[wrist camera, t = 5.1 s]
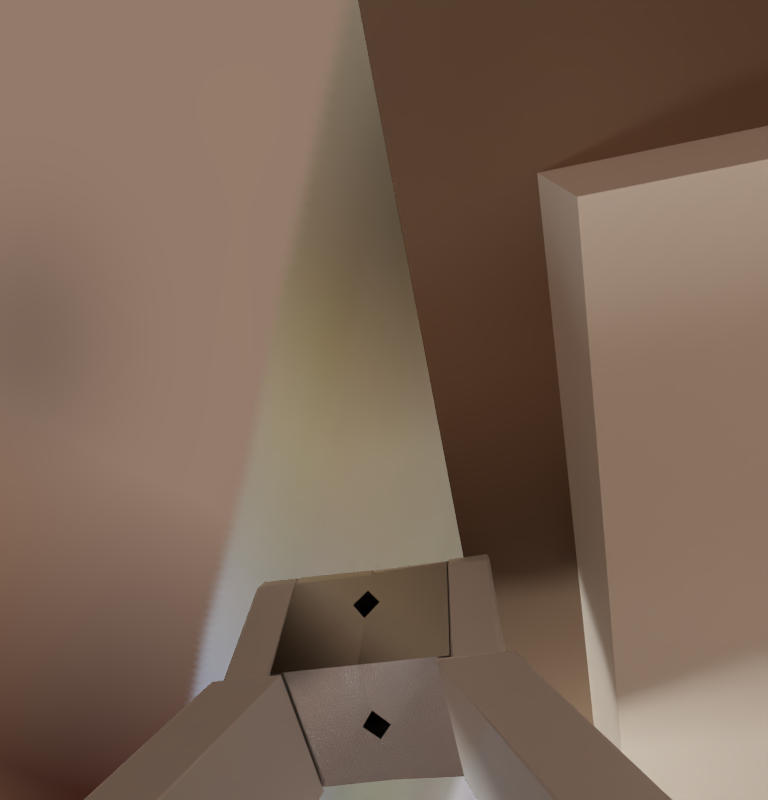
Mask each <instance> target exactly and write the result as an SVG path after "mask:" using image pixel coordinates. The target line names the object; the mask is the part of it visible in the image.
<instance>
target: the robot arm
mask: <svg viewBox="0 0 768 800" xmlns="http://www.w3.org/2000/svg"><path fill="white" fill-rule="evenodd" d="M456 776H464V777H465V781H466V782H467V784H468V785H469V787H470V788H471V790H472V791H473V793H474V794H475V796H476V797H477V799H478V800H672V799H671V798H670V797H669V796H668V795H667V794H666V793H665V792H663V791H662V790H661V789H660V788H659V787H658V786H657V785H656V784H655V783H654V782H653V781H652V780H651V779H650V778H649V777H648V776H647V775H645V774H644V773H643V772H642V771H641V770H640V769H639V768H638V767H637V766H636V765H635V764H634V763H633V762H632V761H631V760H630V759H629V758H627V757H626V756H625V755H624V754H623V753H622V752H621V751H620V750H619V749H618V748H617V747H616V746H615V745H614V744H613V743H612V742H611V741H609V740H608V739H607V738H606V737H605V736H604V735H603V734H602V733H601V732H600V731H599V730H598V729H597V728H596V727H595V726H594V725H593V724H591V723H590V722H589V721H588V720H587V719H586V718H585V717H584V716H583V715H582V714H581V713H580V712H579V711H578V710H577V709H576V708H575V707H573V706H572V705H571V704H570V703H569V702H568V701H567V700H566V699H565V698H564V697H563V696H562V695H561V694H560V693H559V692H558V691H557V690H555V689H554V688H553V687H552V686H551V685H550V684H549V683H548V682H547V681H546V680H545V679H544V678H543V677H542V676H541V675H540V674H539V673H537V672H536V671H535V670H534V669H533V668H532V667H531V666H530V665H529V664H528V663H527V662H526V661H525V660H524V659H523V658H522V657H521V656H519V655H518V654H517V653H516V652H515V651H506V650H505V645H504V639H503V633H502V627H501V622H500V616H499V610H498V604H497V599H496V593H495V587H494V581H493V576H492V570H491V564H490V559H489V557H488V555H487V554H483V555H476V556H470V557H463V558H457V559H450V560H449V561H445V562H437V563H430V564H422V565H414V566H407V567H399V568H391V569H384V570H376V571H373V570H372V571H362V572H353V573H343V574H333V575H323V576H314V577H304V578H300V579H289V580H280V581H271V582H264V583H263V584H262V585H261V586H260V587H259V588H258V589H257V591H256V593H255V596H254V599H253V602H252V604H251V607H250V610H249V613H248V615H247V618H246V621H245V624H244V626H243V629H242V632H241V635H240V637H239V640H238V643H237V646H236V648H235V651H234V654H233V657H232V659H231V662H230V665H229V668H228V670H227V673H226V676H225V679H224V681H217V682H212V683H211V684H210V685H209V686H207V687H206V688H205V689H204V690H203V691H202V692H201V693H200V694H199V695H198V696H197V697H195V698H194V699H193V700H192V701H191V702H190V703H189V704H188V705H187V706H186V707H185V708H183V709H182V710H181V711H180V712H179V713H178V714H177V715H176V716H175V717H174V718H173V719H171V720H170V721H169V722H168V723H167V724H166V725H165V726H164V727H163V728H162V729H161V730H160V731H158V732H157V733H156V734H155V735H154V736H153V737H152V738H151V739H150V740H149V741H147V742H146V743H145V744H144V745H143V746H142V747H141V748H140V749H139V750H138V751H137V752H136V753H134V754H133V755H132V756H131V757H130V758H129V759H128V760H127V761H126V762H125V763H124V764H122V765H121V766H120V767H119V768H118V769H117V770H116V771H115V772H114V773H113V774H112V775H111V776H109V777H108V778H107V779H106V780H105V781H104V782H103V783H102V784H101V785H100V786H98V787H97V788H96V789H95V790H94V791H93V792H92V793H91V794H90V795H89V796H88V797H86V798H85V799H84V800H319V798H320V796H321V795H322V793H323V792H324V791H323V788H322V787H327V786H336V785H346V784H355V783H364V782H373V781H383V780H392V779H413V778H434V777H456Z"/></svg>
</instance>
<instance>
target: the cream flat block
mask: <svg viewBox="0 0 768 800" xmlns="http://www.w3.org/2000/svg"><path fill="white" fill-rule="evenodd" d="M537 177H538V186H539V196H540V206H541V216H542V225H543V235H544V245H545V255H546V264H547V274H548V284H549V294H550V303H551V313H552V323H553V333H554V342H555V352H556V362H557V372H558V381H559V391H560V401H561V411H562V420H563V430H564V440H565V449H566V459H567V469H568V479H569V488H570V498H571V508H572V518H573V527H574V537H575V547H576V557H577V566H578V576H579V586H580V596H581V605H582V615H583V625H584V635H585V644H586V654H587V664H588V674H589V683H590V693H591V703H592V712H593V722H594V726H595V727H596V728H597V729H598V730H599V731H600V732H601V733H602V734H603V735H604V736H605V737H606V738H607V739H608V740H609V741H611V742H612V743H613V744H614V745H615V746H616V747H617V748H618V749H619V750H620V751H621V752H622V753H623V754H624V755H625V756H626V757H627V758H629V759H630V760H631V761H632V762H633V763H634V764H635V765H636V766H637V767H638V768H639V769H640V770H641V771H642V772H643V773H644V774H645V775H647V776H648V777H649V778H650V779H651V780H652V781H653V782H654V783H655V784H656V785H657V786H658V787H659V788H660V789H661V790H662V791H663V792H665V793H666V794H667V795H668V796H669V797H670V798H671V799H672V800H768V126H764V127H759V128H754V129H749V130H745V131H740V132H735V133H730V134H725V135H720V136H715V137H710V138H705V139H701V140H696V141H691V142H686V143H681V144H676V145H671V146H666V147H661V148H657V149H652V150H647V151H642V152H637V153H632V154H627V155H622V156H617V157H613V158H608V159H603V160H598V161H593V162H588V163H583V164H578V165H574V166H569V167H564V168H559V169H554V170H549V171H544V172H539V173H537Z"/></svg>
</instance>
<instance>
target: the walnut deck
mask: <svg viewBox="0 0 768 800" xmlns="http://www.w3.org/2000/svg"><path fill="white" fill-rule="evenodd" d="M358 2H359V7H360V12H361V18H362V23H363V28H364V34H365V39H366V44H367V49H368V55H369V60H370V65H371V70H372V76H373V81H374V86H375V92H376V97H377V102H378V107H379V113H380V118H381V123H382V128H383V134H384V139H385V144H386V150H387V155H388V160H389V165H390V171H391V176H392V181H393V187H394V192H395V197H396V202H397V208H398V213H399V218H400V223H401V229H402V234H403V239H404V245H405V250H406V255H407V260H408V266H409V271H410V276H411V281H412V287H413V292H414V297H415V303H416V308H417V313H418V318H419V324H420V329H421V334H422V340H423V345H424V350H425V355H426V361H427V366H428V371H429V376H430V382H431V387H432V392H433V398H434V403H435V408H436V413H437V419H438V424H439V429H440V434H441V440H442V445H443V450H444V456H445V461H446V466H447V471H448V477H449V482H450V487H451V492H452V498H453V503H454V508H455V514H456V519H457V524H458V529H459V535H460V540H461V545H462V551H463V556H464V557H470V556H476V555H483V554H487V555H488V557H489V559H490V564H491V570H492V576H493V581H494V587H495V593H496V599H497V604H498V610H499V616H500V622H501V627H502V633H503V639H504V645H505V650H506V651H515V652H516V653H517V654H518V655H519V656H521V657H522V658H523V659H524V660H525V661H526V662H527V663H528V664H529V665H530V666H531V667H532V668H533V669H534V670H535V671H536V672H537V673H539V674H540V675H541V676H542V677H543V678H544V679H545V680H546V681H547V682H548V683H549V684H550V685H551V686H552V687H553V688H554V689H555V690H557V691H558V692H559V693H560V694H561V695H562V696H563V697H564V698H565V699H566V700H567V701H568V702H569V703H570V704H571V705H572V706H573V707H575V708H576V709H577V710H578V711H579V712H580V713H581V714H582V715H583V716H584V717H585V718H586V719H587V720H588V721H589V722H590V723H591V724H593V725H594V722H593V712H592V703H591V693H590V683H589V674H588V664H587V654H586V644H585V635H584V625H583V615H582V605H581V596H580V586H579V576H578V566H577V557H576V547H575V537H574V527H573V518H572V508H571V498H570V488H569V479H568V469H567V459H566V449H565V440H564V430H563V420H562V411H561V401H560V391H559V381H558V372H557V362H556V352H555V342H554V333H553V323H552V313H551V303H550V294H549V284H548V274H547V264H546V255H545V245H544V235H543V225H542V216H541V206H540V196H539V186H538V177H537V173H539V172H544V171H549V170H554V169H559V168H564V167H569V166H574V165H578V164H583V163H588V162H593V161H598V160H603V159H608V158H613V157H617V156H622V155H627V154H632V153H637V152H642V151H647V150H652V149H657V148H661V147H666V146H671V145H676V144H681V143H686V142H691V141H696V140H701V139H705V138H710V137H715V136H720V135H725V134H730V133H735V132H740V131H745V130H749V129H754V128H759V127H764V126H768V0H358Z"/></svg>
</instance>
